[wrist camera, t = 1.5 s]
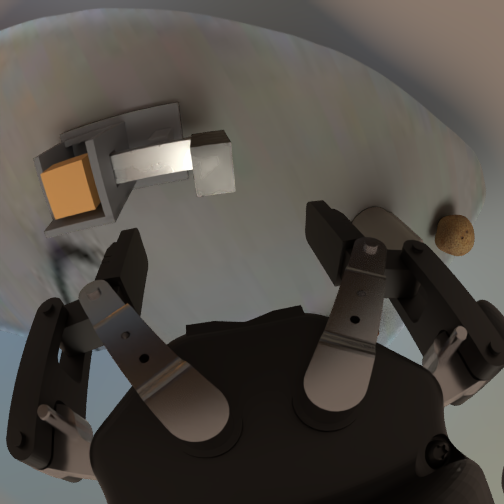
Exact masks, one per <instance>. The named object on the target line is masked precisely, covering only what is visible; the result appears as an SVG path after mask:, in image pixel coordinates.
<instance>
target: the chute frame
mask: <svg viewBox="0 0 504 504" xmlns="http://www.w3.org/2000/svg"><path fill="white" fill-rule="evenodd" d="M60 137H61V143H59V144H57V145H56V146H54V147H52V148H50V149H49V150H47V151H45V152H43V153H42V154H40V155H38V156H37V157H35V158H34V159H33V160H34V164H35V168H36V171H37V175H38V178H39V181H40V185H41V188H42V191H43V194H44V197H45V200H46V203H47V205H48V208H49V211H50V214H51V216H52V219H53V221H52V222H51V223H50V225H49V226H48V227H47V228H46V230H45V231H44V234H45V236H46V238H50V237H54V236H58V235H62V234H67V233H71V232H75V231H79V230H84V229H88V228H92V227H97V226H102V225H106V224H111V223H115V222H116V220H117V218H118V216H119V214H120V212H121V210H122V208H123V206H124V204H125V202H126V201H127V199H128V197H129V195H130V193H131V191H132V190H133V189H138V188H143V187H148V186H153V185H158V184H163V183H169V182H174V181H180V180H186V179H188V177H189V175H188V170H185V171H179V172H173V173H168V174H163V175H157V176H152V177H147V178H143V179H138V180H133V181H129V182H124V183H120V184H116V181H115V177H114V173H113V169H112V165H111V161H110V156H109V154H111V153H115V152H119V151H123V150H127V149H131V148H136V147H140V146H145V145H149V144H154V143H159V142H164V141H169V140H175V139H180V138H183V134H182V126H181V119H180V110H179V102H175V103H170V104H164V105H159V106H154V107H150V108H145V109H141V110H137V111H133V112H129V113H125V114H121V115H117V116H114V117H110V118H107V119H103V120H100V121H97V122H94V123H91V124H88V125H85V126H82V127H79V128H76V129H73V130H70V131H68V132H65V133H63V134H61V135H60ZM86 153H88V157H89V161H90V165H91V169H92V173H93V177H94V180H95V184H96V187H97V191H98V194H99V198H100V201H101V202H100V204H99V205H98V207H97V208H96V209H95V210H91V211H87V212H83V213H79V214H75V215H71V216H67V217H64V218H60V219H55V217H54V214H53V212H52V209H51V206H50V203H49V200H48V197H47V194H46V191H45V188H44V185H43V182H42V179H41V175H40V174H41V173H43V172H44V171H45V170H47V169H48V168H49V167H51V166H52V165H53V164H56V163H59V162H62V161H65V160H68V159H70V158H73V157H76V156H80V155H83V154H86Z"/></svg>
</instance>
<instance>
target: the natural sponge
mask: <svg viewBox="0 0 504 504" xmlns="http://www.w3.org/2000/svg"><path fill="white" fill-rule="evenodd" d="M435 243H436V246H437V247H438V248H439V249H440V250H442V251H444V252H446V253H448V254H451V255H454V256H462V255H465V254H466V253H468V252H469V251H470V250H471V249H472V247H473V245H474V229H473V226H472V224H471V223H470V221H469V220H468V219H467V218H466V217H465V216H462V215H448V216H445V217H443V218H442V219H441V220H440V221H439V223H438V226H437V233H436V236H435Z"/></svg>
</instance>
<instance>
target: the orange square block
mask: <svg viewBox="0 0 504 504" xmlns="http://www.w3.org/2000/svg"><path fill="white" fill-rule="evenodd" d="M40 175H41V179H42V182H43V185H44V188H45V191H46V194H47V197H48V200H49V203H50V206H51V209H52V212H53V214H54V217H55V219H60V218H64V217H67V216H71V215H75V214H79V213H83V212H87V211H91V210H95V209H96V208H97V207H98V205H99V204H100V202H101V201H100V198H99V194H98V191H97V187H96V184H95V180H94V177H93V173H92V169H91V165H90V161H89V157H88V153H86V154H83V155H80V156H76V157H73V158H70V159H68V160H65V161H62V162H59V163H56V164H53V165H52V166H51V167H49V168H48V169H47V170H45V171H44V172H43V173H41V174H40Z"/></svg>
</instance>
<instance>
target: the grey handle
mask: <svg viewBox="0 0 504 504" xmlns="http://www.w3.org/2000/svg"><path fill="white" fill-rule="evenodd" d="M109 156H110V161H111V165H112V169H113V173H114V177H115V181H116V184H120V183H124V182H129V181H133V180H138V179H143V178H147V177H152V176H157V175H163V174H168V173H173V172H179V171H185V170H191V169H193V173H194V180H195V186H196V193H197V197H202V196H209V195H215V194H222V193H229V192H235V181H234V170H233V159H232V148H231V141H230V140H229V138H228V136H227V135H226V133H225V131H224V130H218V131H211V132H203V133H196V134H192V135H191V137H186V138H180V139H175V140H169V141H164V142H159V143H154V144H149V145H145V146H140V147H136V148H131V149H127V150H123V151H119V152H115V153H111V154H109Z"/></svg>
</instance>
